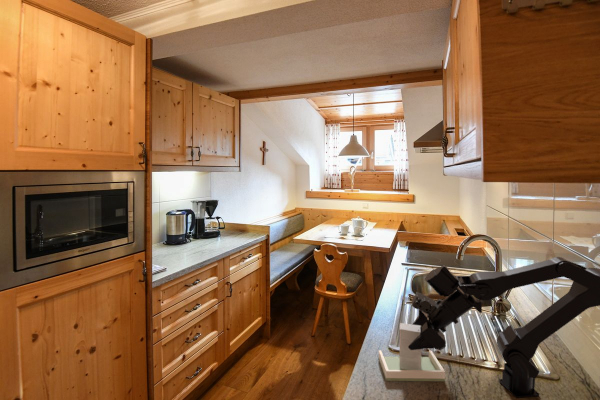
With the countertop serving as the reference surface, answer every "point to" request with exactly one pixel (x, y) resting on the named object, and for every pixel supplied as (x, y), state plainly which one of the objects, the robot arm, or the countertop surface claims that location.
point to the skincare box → (407, 356)
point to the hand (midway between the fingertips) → (409, 339)
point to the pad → (428, 371)
